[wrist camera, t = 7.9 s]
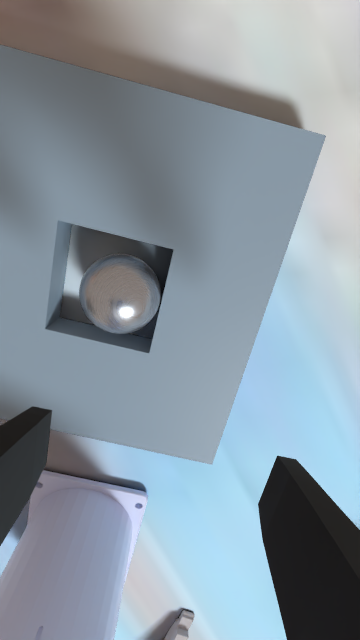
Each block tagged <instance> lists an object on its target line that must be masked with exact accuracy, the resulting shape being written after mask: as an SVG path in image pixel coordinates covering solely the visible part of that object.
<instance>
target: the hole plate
mask: <svg viewBox="0 0 360 640" xmlns="http://www.w3.org/2000/svg"><path fill="white" fill-rule="evenodd" d="M325 137H326V136H325V135H322V134H318V133H314V132H311V131H307V130H304V129H300V128H297V127H293V126H290V125H286V124H282V123H279V122H275V121H272V120H268V119H265V118H261V117H257V116H254V115H250V114H247V113H243V112H240V111H236V110H232V109H229V108H225V107H222V106H218V105H215V104H211V103H207V102H204V101H200V100H197V99H193V98H190V97H186V96H182V95H179V94H175V93H172V92H168V91H165V90H161V89H158V88H154V87H150V86H147V85H143V84H140V83H136V82H133V81H129V80H125V79H122V78H118V77H115V76H111V75H108V74H104V73H100V72H97V71H93V70H90V69H86V68H83V67H79V66H75V65H72V64H68V63H65V62H61V61H58V60H54V59H50V58H47V57H43V56H40V55H36V54H33V53H29V52H26V51H22V50H18V49H15V48H11V47H8V46H4V45H1V44H0V419H5V420H11V419H12V418H14V417H16V416H17V415H19V414H20V413H22V412H24V411H25V410H27V409H29V408H30V407H32V406H34V407H39V408H44V409H49V410H52V417H51V426H50V429H51V430H55V431H60V432H65V433H69V434H74V435H78V436H83V437H88V438H92V439H97V440H101V441H106V442H111V443H115V444H120V445H124V446H129V447H133V448H138V449H143V450H147V451H152V452H156V453H161V454H166V455H170V456H175V457H179V458H184V459H189V460H193V461H198V462H202V463H207V464H212V463H213V460H214V457H215V454H216V451H217V449H218V446H219V443H220V440H221V437H222V434H223V431H224V428H225V425H226V423H227V420H228V417H229V414H230V411H231V408H232V405H233V402H234V399H235V397H236V394H237V391H238V388H239V385H240V382H241V379H242V376H243V374H244V371H245V368H246V365H247V362H248V359H249V356H250V353H251V350H252V348H253V345H254V342H255V339H256V336H257V333H258V330H259V327H260V325H261V322H262V319H263V316H264V313H265V310H266V307H267V304H268V301H269V299H270V296H271V293H272V290H273V287H274V284H275V281H276V278H277V276H278V273H279V270H280V267H281V264H282V261H283V258H284V255H285V252H286V250H287V247H288V244H289V241H290V238H291V235H292V232H293V229H294V227H295V224H296V221H297V218H298V215H299V212H300V209H301V206H302V203H303V201H304V198H305V195H306V192H307V189H308V186H309V183H310V180H311V178H312V175H313V172H314V169H315V166H316V163H317V160H318V157H319V154H320V152H321V149H322V146H323V143H324V140H325ZM72 224H75V225H79V226H83V227H86V228H90V229H94V230H98V231H102V232H106V233H110V234H114V235H118V236H122V237H126V238H130V239H134V240H138V241H142V242H146V243H150V244H154V245H158V246H162V247H165V248H169V249H173V255H172V259H171V263H170V267H169V272H168V276H167V280H166V284H165V289H164V293H163V297H162V301H161V306H160V310H159V314H158V318H157V323H156V327H155V331H154V335H153V339H149V338H144V337H140V336H136V335H132V334H127V333H126V334H115V333H110V332H106V331H104V330H102V329H100V328H99V327H97V326H94V325H89V324H85V323H81V322H77V321H73V320H68V319H64V318H60V311H61V303H62V296H63V288H64V281H65V273H66V265H67V258H68V250H69V243H70V235H71V227H72Z"/></svg>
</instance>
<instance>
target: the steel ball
mask: <svg viewBox="0 0 360 640" xmlns="http://www.w3.org/2000/svg"><path fill="white" fill-rule="evenodd" d="M79 297H80V303H81V306H82V309H83V311H84V313H85V315H86V316H87V318H88V319H89V320H90V321H91V322H92V323H93V324H94V325H95V326H97V327H99V328H100V329H102V330H104V331H106V332H110V333H115V334H126V333H132V332H135V331H137V330H139V329H141V328H143V327H144V326H145V325H147V324H148V323H149V322H150V321H151V320H152V318H153V317H154V316H155V314H156V312H157V310H158V308H159V305H160V299H161V289H160V284H159V281H158V279H157V276H156V275H155V273H154V271H153V270H152V269H151V268H150V266H149V265H147V264H146V263H145V262H144V261H142V260H141V259H139V258H137V257H135V256H132V255H128V254H111V255H107V256H104V257H102V258H100V259H98V260H97V261H95V262H94V263H93V264H92V265H91V266H90V267H89V268H88V269H87V270H86V272H85V274H84V275H83V278H82V280H81V283H80V289H79Z"/></svg>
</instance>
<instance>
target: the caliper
mask: <svg viewBox="0 0 360 640" xmlns="http://www.w3.org/2000/svg"><path fill="white" fill-rule="evenodd" d="M193 618H194V613H191V612H188V611H185V610H183V611H182V613H181V615H180V617H179V619H176V620H175V622H174V623H173V625H172V626H171V627H170V629H169V631H168V633H167V635H166V637H165V639H164V640H187V639H188V629H189V628H190V626H191V624H192V622H193Z"/></svg>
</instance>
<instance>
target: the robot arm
mask: <svg viewBox="0 0 360 640" xmlns="http://www.w3.org/2000/svg"><path fill="white" fill-rule="evenodd" d="M51 417H52V410H49V409H44V408H39V407H34V406H32V407H30V408H29V409H27V410H25V411H24V412H22V413H20V414H19V415H17V416H16V417H14V418H12V419H11V420H9V421H8V422H6V423H4V424H3V425H1V426H0V546H1V544H2V542H3V541H4V539H5V537H6V536H7V534H8V533H9V531H10V529H11V528H12V526H13V524H14V523H15V521H16V519H17V518H18V516H19V515H20V513H21V511H22V510H23V508H24V506H25V505H26V503H27V501H28V500H29V498H30V505H29V513H28V521H27V527H26V529H25V531H24V533H23V534H22V536H21V538H20V540H19V542H18V544H17V546H16V548H15V550H14V552H13V554H12V556H11V558H10V559H9V561H8V563H7V565H6V567H5V569H4V571H3V573H2V575H1V577H0V640H114V637H115V632H116V626H117V620H118V614H119V609H120V603H121V597H122V591H123V586H124V583H125V580H126V576H127V573H128V569H129V566H130V562H131V559H132V555H133V551H134V548H135V544H136V541H137V537H138V533H139V530H140V526H141V523H142V519H143V515H144V512H145V508H146V505H147V501H148V495H147V493H145V492H144V491H140V490H135V489H130V488H126V487H121V486H116V485H111V484H107V483H102V482H97V481H92V480H88V479H83V478H78V477H73V476H69V475H64V474H59V473H54V472H50V471H45V470H43V469H44V467H45V465H46V461H47V452H48V443H49V434H50V426H51ZM39 482H40V483H39ZM41 483H42V484H41ZM30 496H31V497H30ZM138 503H140V504H138ZM258 506H259V515H260V524H261V531H262V538H263V543H264V547H265V551H266V556H267V560H268V564H269V568H270V572H271V576H272V580H273V584H274V588H275V592H276V596H277V600H278V604H279V608H280V612H281V616H282V620H283V625H284V629H285V633H286V637H287V640H360V530H359V529H358V528H357V527H356V526H355V525H354V523H353V522H352V521H351V520H350V519H349V518H348V517H347V516H346V515H345V514H344V512H343V511H342V510H341V509H340V508H339V507H338V506H337V505H336V504H335V502H334V501H333V500H332V499H331V498H330V497H329V496H328V495H327V493H326V492H325V491H324V490H323V489H322V488H321V487H320V485H319V484H318V483H317V482H316V481H315V480H314V479H313V478H312V476H311V475H310V474H309V473H308V472H307V471H306V470H305V469H304V468H303V466H302V465H301V464H300V463H299V462H298V461H297V460H296V459H291V458H286V457H281V456H277V458H276V460H275V463H274V465H273V468H272V471H271V473H270V476H269V478H268V481H267V483H266V486H265V488H264V491H263V493H262V496H261V498H260V501H259V504H258Z"/></svg>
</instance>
